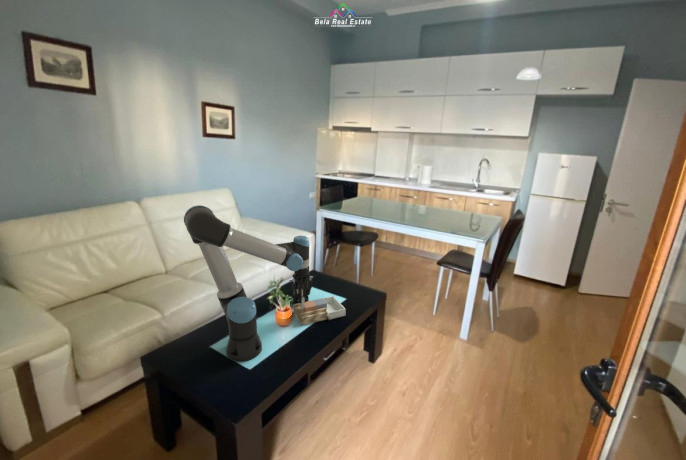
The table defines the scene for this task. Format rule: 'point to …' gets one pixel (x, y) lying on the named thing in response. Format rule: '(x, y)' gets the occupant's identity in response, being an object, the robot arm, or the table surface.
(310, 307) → the terracotta tile
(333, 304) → the tray
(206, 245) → the robot arm
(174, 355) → the table surface
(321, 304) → the slate tile
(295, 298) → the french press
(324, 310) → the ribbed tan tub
